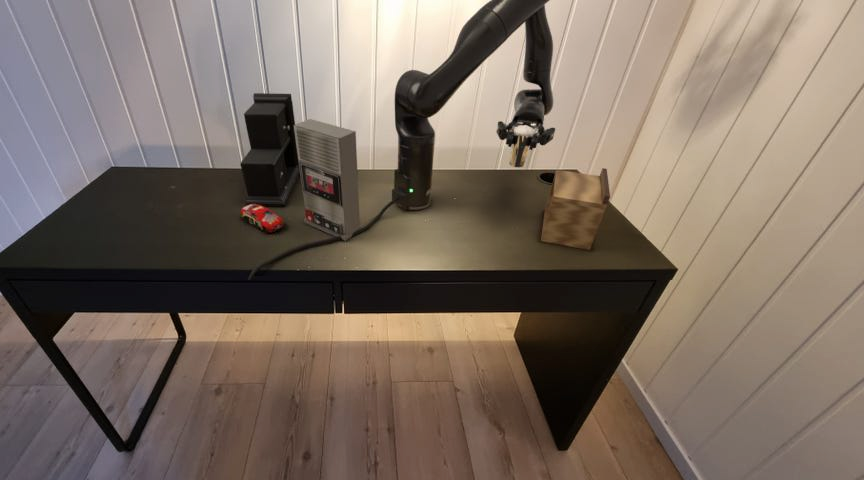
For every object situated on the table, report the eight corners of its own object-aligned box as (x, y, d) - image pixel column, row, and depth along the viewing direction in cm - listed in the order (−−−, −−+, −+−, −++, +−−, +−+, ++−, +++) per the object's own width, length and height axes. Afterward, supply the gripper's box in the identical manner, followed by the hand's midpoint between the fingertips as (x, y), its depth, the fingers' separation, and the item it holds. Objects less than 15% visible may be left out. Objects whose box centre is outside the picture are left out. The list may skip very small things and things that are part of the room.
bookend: (285, 207, 111) (270, 120, 97) (245, 206, 112) (225, 119, 97) (302, 170, 130) (291, 93, 115) (268, 170, 130) (254, 92, 115)
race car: (288, 228, 103) (285, 214, 100) (270, 237, 100) (267, 223, 97) (257, 210, 110) (254, 197, 107) (239, 218, 106) (236, 205, 104)
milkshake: (530, 170, 95) (541, 127, 89) (506, 167, 96) (516, 125, 89) (529, 162, 98) (539, 120, 92) (506, 159, 99) (515, 118, 93)
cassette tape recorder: (304, 223, 104) (290, 125, 89) (320, 214, 108) (310, 118, 93) (344, 242, 98) (336, 139, 82) (360, 231, 102) (356, 131, 86)
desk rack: (540, 241, 98) (555, 188, 90) (544, 211, 109) (558, 162, 101) (589, 250, 95) (610, 196, 86) (588, 219, 106) (606, 168, 97)
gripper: (502, 102, 103) (491, 123, 91) (561, 108, 100) (559, 131, 87) (497, 131, 108) (486, 155, 96) (553, 138, 104) (549, 164, 92)
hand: (521, 144), depth 91 cm, fingers closed on milkshake, 4 cm apart
